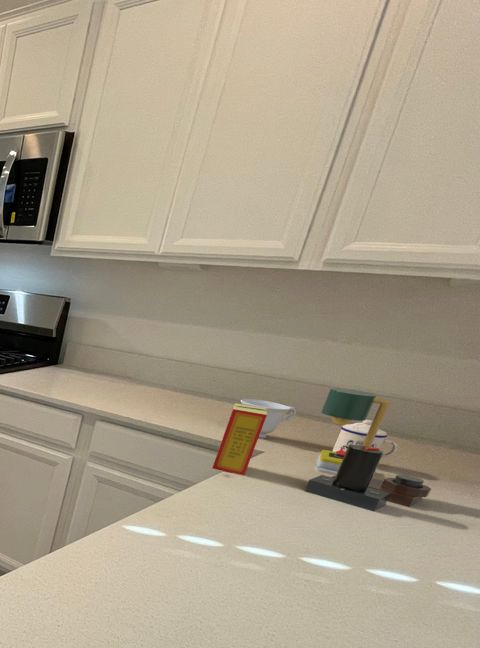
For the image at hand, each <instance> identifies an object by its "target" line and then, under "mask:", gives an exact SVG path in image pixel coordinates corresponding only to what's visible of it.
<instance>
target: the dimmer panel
mask: <svg viewBox="0 0 480 648" xmlns="http://www.w3.org/2000/svg"><path fill="white" fill-rule="evenodd" d="M332 477H333V476H329V475H325V474H320V475H318V476H316V477H313V478H310V479H308V483H307V485H306V486H305V489H304V492H305V493H308V494H312V495H316V496H319V497H322V498H326V499H329V500H333V501H336V502H340V503H343V504H346V505H350V506H353V507H357V508H361V509H364V510H366V511H370V512H376V511H377V510H380V509H381V508H383V507H385V506H386V504H387V502H388V501H387V500H388V498H389V496H390V494H391V493H388V492H384V491H380V490H377V489H373V488H369V487H368V488H367V490H366V491H357V490H351V489H347V488H343V487H340V486H338V485H335V484H334V483H333V481H334V478H332Z"/></svg>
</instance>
